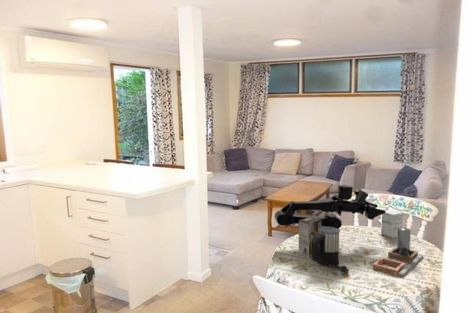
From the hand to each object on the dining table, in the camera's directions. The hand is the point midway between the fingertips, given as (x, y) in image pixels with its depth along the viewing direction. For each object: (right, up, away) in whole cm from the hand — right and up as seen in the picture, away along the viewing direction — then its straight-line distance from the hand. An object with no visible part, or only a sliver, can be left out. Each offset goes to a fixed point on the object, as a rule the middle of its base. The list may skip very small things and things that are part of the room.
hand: (381, 208), depth 180 cm
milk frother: (-31, -21, -27) cm, 46 cm away
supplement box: (+10, -16, +11) cm, 22 cm away
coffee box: (-38, -19, -12) cm, 44 cm away
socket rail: (-2, -20, -24) cm, 31 cm away
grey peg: (+3, -19, -17) cm, 25 cm away
